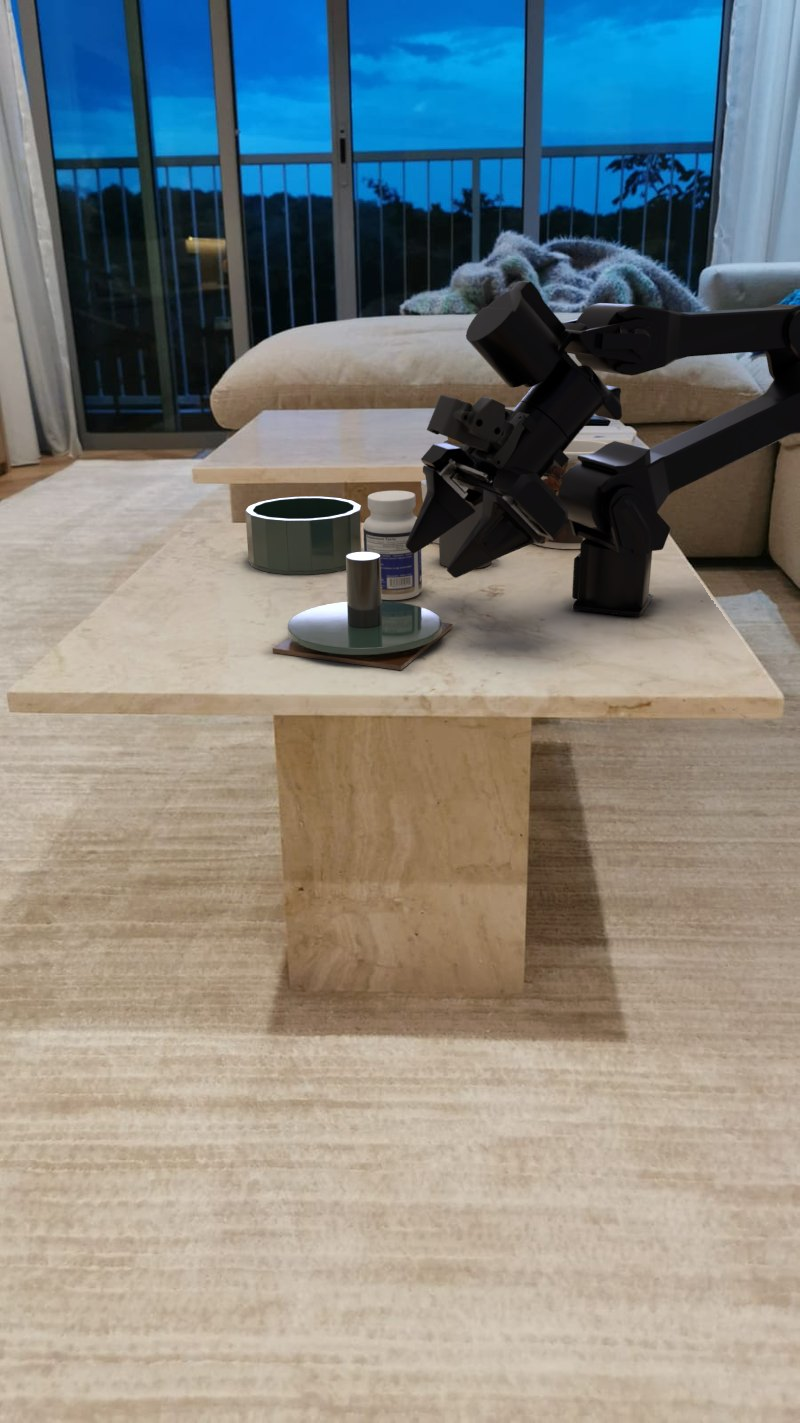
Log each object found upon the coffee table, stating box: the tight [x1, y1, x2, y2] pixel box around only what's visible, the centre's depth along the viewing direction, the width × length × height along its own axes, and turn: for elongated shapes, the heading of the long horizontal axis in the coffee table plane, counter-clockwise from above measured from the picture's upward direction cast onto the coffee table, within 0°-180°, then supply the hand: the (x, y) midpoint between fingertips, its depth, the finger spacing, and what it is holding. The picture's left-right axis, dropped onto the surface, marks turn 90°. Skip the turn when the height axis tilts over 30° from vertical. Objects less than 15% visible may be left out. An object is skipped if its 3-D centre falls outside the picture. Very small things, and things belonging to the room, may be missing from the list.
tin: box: [244, 496, 363, 576], centre depth 120 cm, size 13×13×6 cm
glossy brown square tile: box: [272, 622, 453, 671], centre depth 95 cm, size 12×12×1 cm
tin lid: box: [286, 551, 443, 655], centre depth 93 cm, size 14×14×7 cm
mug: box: [532, 439, 609, 550], centre depth 125 cm, size 10×12×11 cm
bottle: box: [438, 437, 492, 569], centre depth 116 cm, size 6×6×15 cm
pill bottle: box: [362, 490, 423, 601], centre depth 106 cm, size 6×6×10 cm
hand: (429, 561), depth 94 cm, fingers open, 9 cm apart
